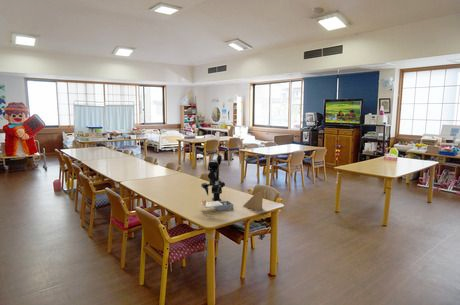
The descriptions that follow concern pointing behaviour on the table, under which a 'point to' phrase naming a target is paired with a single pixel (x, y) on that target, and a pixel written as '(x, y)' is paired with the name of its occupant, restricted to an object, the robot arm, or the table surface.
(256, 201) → the sandwich container
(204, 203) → the lid
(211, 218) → the table surface
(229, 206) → the tub
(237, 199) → the table surface
